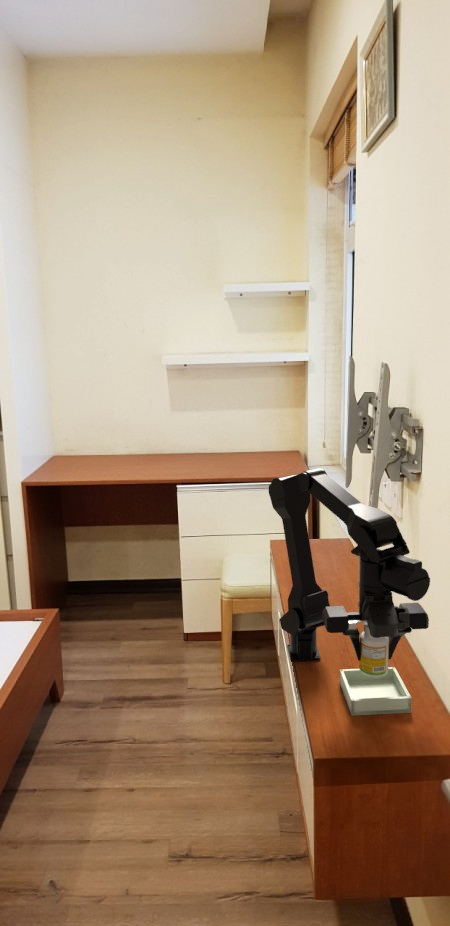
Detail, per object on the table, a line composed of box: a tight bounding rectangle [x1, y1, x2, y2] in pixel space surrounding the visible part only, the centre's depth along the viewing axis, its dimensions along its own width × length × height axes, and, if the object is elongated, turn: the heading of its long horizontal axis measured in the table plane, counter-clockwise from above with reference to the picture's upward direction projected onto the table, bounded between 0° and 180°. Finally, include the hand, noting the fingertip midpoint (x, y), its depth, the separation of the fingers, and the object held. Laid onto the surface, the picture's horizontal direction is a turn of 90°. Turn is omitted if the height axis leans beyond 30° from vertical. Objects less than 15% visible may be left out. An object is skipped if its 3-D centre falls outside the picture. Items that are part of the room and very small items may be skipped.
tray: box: [339, 666, 412, 717], centre depth 127 cm, size 11×11×3 cm
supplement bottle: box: [358, 622, 390, 678], centre depth 125 cm, size 5×5×10 cm
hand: (373, 658), depth 125 cm, fingers closed on supplement bottle, 5 cm apart
